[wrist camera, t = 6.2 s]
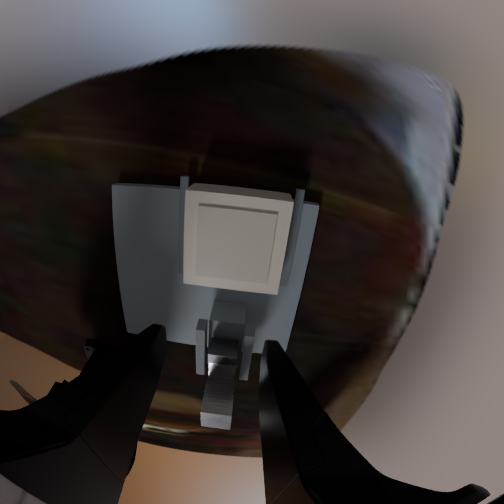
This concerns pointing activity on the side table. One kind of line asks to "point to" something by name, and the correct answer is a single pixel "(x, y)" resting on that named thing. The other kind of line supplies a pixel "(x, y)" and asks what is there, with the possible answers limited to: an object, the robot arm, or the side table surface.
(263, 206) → the cover
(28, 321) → the side table surface
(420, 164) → the side table surface
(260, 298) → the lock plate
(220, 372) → the grey stepped block
